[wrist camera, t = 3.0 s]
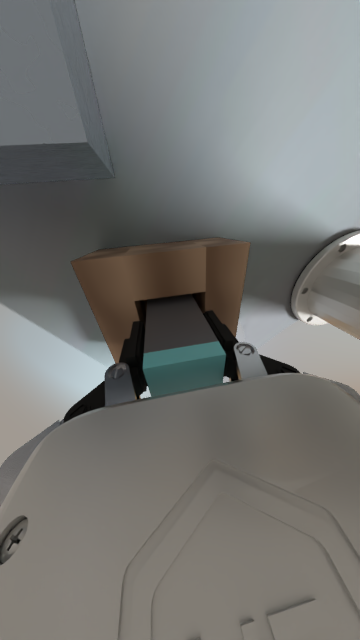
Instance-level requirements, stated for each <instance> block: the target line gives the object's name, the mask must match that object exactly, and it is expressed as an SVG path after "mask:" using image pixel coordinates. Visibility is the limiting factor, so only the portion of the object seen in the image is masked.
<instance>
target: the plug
mask: <svg viewBox="0 0 360 640" xmlns="http://www.w3.org/2000/svg"><path fill="white" fill-rule="evenodd" d="M225 359H226V353H225V352H224V350H223V348H222V346H221V345H220V343H219V341H218V339H217V338H216V336H215V334H214V333H213V331H212V329H211V327H210V326H209V324H208V322H207V320H206V319H205V317H204V315H203V314H202V312H201V310H200V308H199V307H198V305H197V303H196V301H195V300H194V298H193V296H192V294H184V295H176V296H169V297H161V298H154V299H147V313H146V328H145V342H144V357H143V372H144V375H145V378H146V381H147V384H148V387H149V390H150V393H151V397H153V396H158V395H163V394H168V393H173V392H179V391H184V390H189V389H194V388H199V387H205V386H210V385H215V384H220V383H223V375H224V367H225Z"/></svg>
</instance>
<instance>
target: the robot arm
mask: <svg viewBox="0 0 360 640" xmlns="http://www.w3.org/2000/svg"><path fill="white" fill-rule="evenodd" d="M291 308H292V312H293V313H294V315H295V317H297V318H298V319H299V320H301V321H303V322H304V323H306V324H310V325H321V324H327V323H330V324H332V325H333V326H335V327H337V328H339V329H341V330H342V331H344V332H346V333H348V334H350V335H352V336H353V337H355V338H357V339H359V340H360V231H356V232H352V233H349V234H347V235H345V236H343V237H341V238H339V239H337V240H335V241H334V242H332V243H331V244H329V245H328V246H326V247H325V248H324V249H323V250H322V251H321V252H320V253H318V254H317V255H316V256H315V257H314V258H313V259H312V261H311V262H310V263H309V264H308V265H307V266H306V268H305V269H304V271H303V272H302V273H301V275H300V277H299V279H298V280H297V282H296V285H295V287H294V290H293V293H292V298H291ZM203 315H204V317H205V319H206V320H207V322H208V324H209V326H210V327H211V329H212V331H213V333H214V334H215V336H216V338H217V339H218V341H219V343H220V345H221V346H222V348H223V350H224V352H225V353H226V359H225V367H224V375H223V377H224V376H227V377H229V381H230V382H226V383H220V384H215V385H210V386H205V387H199V388H194V389H189V390H184V391H179V392H173V393H168V394H163V395H158V396H153V397H148V398H143V399H141V398H140V395H141V394H142V393H143V392H144V391H146V387H147V386H148V384H147V381H146V378H145V375H144V372H143V357H144V342H145V327H144V323H143V322H141V321H134V322H133V324H132V329H131V334H130V338H128V339H125V340H124V343H123V347H122V351H121V355H120V359H119V363H116V364H114V365H112V366H111V367H109V368H108V369H107V371H106V373H105V381H103V382H102V383H101V384H100V385H98V386H97V387H96V388H95V389H93V390H92V391H91V392H90V393H88V394H87V395H86V396H85V397H83V398H82V399H81V400H80V401H78V402H77V403H76V404H75V405H74V406H72V407H71V408H70V410H69V411H68V412H67V413H66V415H65V417H64V419H63V420H62V421H59V420H58V421H56V422H55V423H54V424H53V425H51V426H50V427H48V428H47V429H45V430H44V431H43V432H41V433H40V434H39V435H37V436H36V437H34V438H33V439H31V440H30V441H29V442H27V443H26V444H24V445H23V446H22V447H20V448H19V449H17V450H16V451H15V452H13V453H12V454H11V455H10V456H9V457H8V458H7V459H6V460H5V461H4V463H3V464H2V465H1V467H0V640H360V395H359V394H358V393H357V392H356V391H355V390H354V389H352V388H351V387H349V386H347V385H344V384H342V383H339V382H335V381H332V380H329V379H325V378H321V377H318V376H315V375H311V374H308V373H304V372H303V374H302V373H300V372H299V371H298V370H297V369H296V368H294V367H292V366H290V365H288V364H285V363H282V362H279V361H276V360H273V359H271V358H268V357H265V356H262V355H259V354H258V352H257V349H256V348H255V347H254V346H253V345H252V344H250V343H246V342H238V341H237V339H236V338H235V336H234V335H233V334H232V332H231V331H230V330H229V328H228V327H227V326H226V325H225V324H222V323H221V321H220V320H219V319H218V317H217V316H216V314H215V313H214V312H213V310H210V311H205V313H203Z"/></svg>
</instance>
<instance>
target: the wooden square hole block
mask: <svg viewBox="0 0 360 640" xmlns="http://www.w3.org/2000/svg"><path fill="white" fill-rule="evenodd" d="M249 249H250V242H244V241H238V240H231V239H225V238H219V237H218V238H208V239H199V240H189V241H179V242H169V243H159V244H149V245H139V246H129V247H119V248H109V249H100V250H97V251H94V252H92V253H90V254H87V255H85V256H83V257H80V258H78V259H76V260H73V261H71V264H72V266H73V269H74V271H75V273H76V275H77V278H78V280H79V282H80V284H81V287H82V289H83V291H84V293H85V296H86V298H87V300H88V302H89V305H90V307H91V309H92V311H93V314H94V316H95V318H96V320H97V322H98V325H99V327H100V329H101V331H102V334H103V336H104V338H105V340H106V343H107V345H108V347H109V349H110V352H111V354H112V356H113V358H114V361H115V363H119V359H120V355H121V351H122V347H123V343H124V340H125V339H128V338H130V334H131V329H132V324H133V322H134V321H141V322H143V323H144V327H145V328H146V313H147V299H154V298H161V297H169V296H176V295H184V294H192V296H193V298H194V300H195V301H196V303H197V305H198V307H199V308H200V310H201V312H202V314H203V313H205V311H210V310H213V312H214V313H215V314H216V316H217V317H218V319H219V320H220V321H221V323H222V324H225V325H226V326H227V327H228V328H229V330H230V331H231V332H232V334H233V335H234V336H235V337H236V332H237V325H238V319H239V313H240V306H241V300H242V294H243V287H244V281H245V275H246V268H247V262H248V255H249Z"/></svg>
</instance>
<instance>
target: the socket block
mask: <svg viewBox="0 0 360 640" xmlns="http://www.w3.org/2000/svg"><path fill="white" fill-rule="evenodd" d="M100 178H115V176H114V172H113V168H112V163H111V159H110V154H109V150H108V146H107V141H106V137H105V133H104V128H103V124H102V120H101V115H100V111H99V106H98V102H97V98H96V93H95V89H94V85H93V80H92V76H91V72H90V67H89V63H88V58H87V54H86V50H85V45H84V41H83V37H82V32H81V28H80V24H79V19H78V15H77V10H76V6H75V2H74V0H0V184H17V183H34V182H50V181H67V180H84V179H100Z"/></svg>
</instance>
